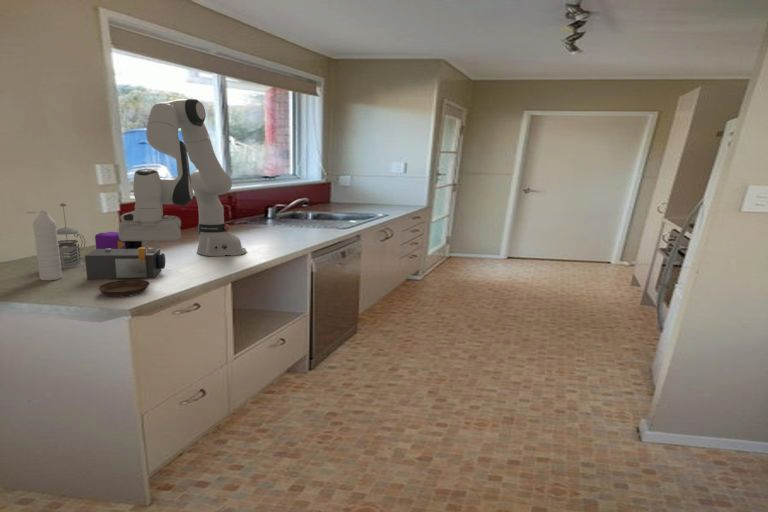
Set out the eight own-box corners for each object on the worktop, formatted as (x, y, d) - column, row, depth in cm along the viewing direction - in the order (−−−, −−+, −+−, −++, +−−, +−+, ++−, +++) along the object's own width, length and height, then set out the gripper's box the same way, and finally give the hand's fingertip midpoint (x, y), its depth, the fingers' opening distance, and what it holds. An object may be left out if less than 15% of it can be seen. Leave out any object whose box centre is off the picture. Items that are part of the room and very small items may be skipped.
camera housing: (166, 270, 176) (165, 246, 174) (159, 278, 165) (157, 253, 163) (99, 271, 170) (97, 246, 168) (87, 280, 159) (84, 253, 157)
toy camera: (136, 250, 208) (134, 229, 206) (116, 257, 194) (114, 234, 192) (114, 249, 209) (112, 228, 207) (93, 255, 195) (91, 233, 193)
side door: (147, 276, 164) (145, 247, 161) (146, 277, 162) (144, 248, 160) (117, 276, 161) (114, 247, 159) (116, 278, 160) (113, 248, 157)
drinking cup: (149, 261, 190) (145, 215, 185) (132, 264, 183) (128, 216, 178) (137, 258, 193) (133, 213, 188) (120, 262, 186) (116, 215, 181)
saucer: (90, 293, 146) (89, 285, 146) (135, 283, 158) (135, 276, 158) (113, 302, 138) (112, 294, 138) (158, 292, 150) (158, 284, 150)
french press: (48, 266, 175) (41, 203, 169) (77, 260, 186) (71, 201, 180) (66, 269, 172) (58, 205, 166) (94, 263, 182) (88, 202, 177)
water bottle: (52, 275, 163) (43, 207, 157) (66, 277, 162) (59, 209, 156) (29, 281, 154) (19, 210, 149) (44, 283, 153) (35, 211, 148)
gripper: (182, 214, 164) (184, 250, 167) (121, 213, 159) (124, 251, 162) (178, 216, 158) (180, 254, 161) (115, 216, 153) (118, 254, 156)
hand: (151, 252), depth 161 cm, fingers closed
